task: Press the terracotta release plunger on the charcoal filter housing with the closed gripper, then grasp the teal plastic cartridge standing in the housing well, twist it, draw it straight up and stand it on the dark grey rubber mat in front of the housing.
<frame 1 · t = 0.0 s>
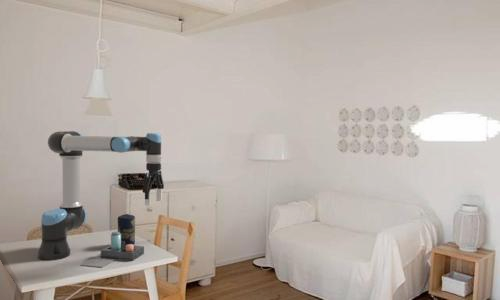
hand: (153, 203, 212), 28 cm above the table, fingers open, 13 cm apart
canister: (126, 245, 232), on the table
housing: (122, 255, 212), on the table
mat: (98, 262, 201), on the table
cartridge: (115, 255, 213), resting in housing
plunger: (129, 249, 209), point 4 cm above the table, slide at 0.0 cm
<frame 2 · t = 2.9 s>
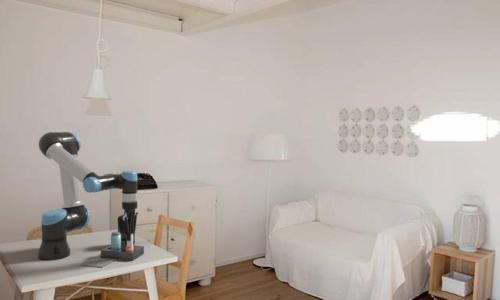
hand: (129, 246, 209), 6 cm above the table, fingers closed
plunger: (129, 250, 209), point 4 cm above the table, slide at 0.8 cm, touching gripper
everything else where it was.
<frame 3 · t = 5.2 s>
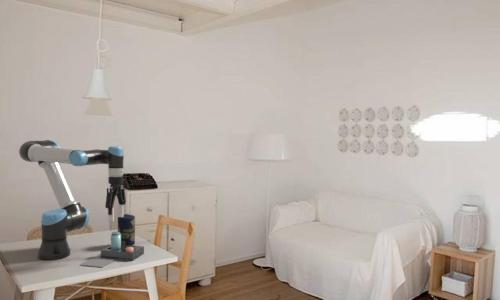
hand: (115, 218, 212), 19 cm above the table, fingers open, 9 cm apart
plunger: (129, 251, 209), point 3 cm above the table, slide at 1.4 cm
everything else where it was.
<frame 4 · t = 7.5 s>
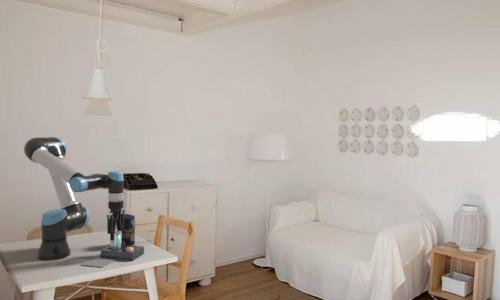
hand: (115, 244, 213), 6 cm above the table, fingers closed on cartridge, 5 cm apart
cartridge: (115, 255, 213), resting in housing, touching gripper
everything else where it was.
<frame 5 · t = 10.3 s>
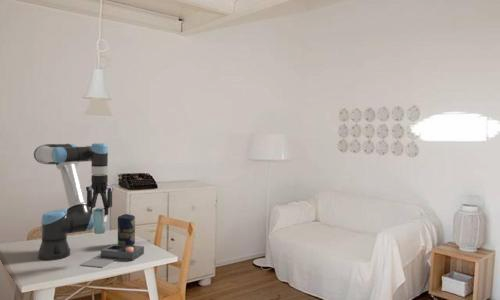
hand: (99, 221, 201), 21 cm above the table, fingers closed on cartridge, 5 cm apart
cartridge: (99, 232, 201), point 15 cm above the table, touching gripper
everything else where it was.
when the fingers open (7 cm above the table, at t = 13.3 s): cartridge stays where it is, resting on mat.
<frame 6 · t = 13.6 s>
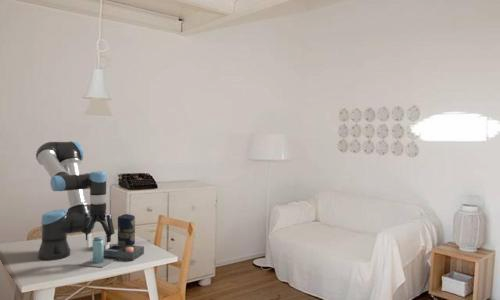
hand: (98, 247, 201), 8 cm above the table, fingers open, 9 cm apart
cartridge: (98, 261, 201), resting on mat
everything else where it was.
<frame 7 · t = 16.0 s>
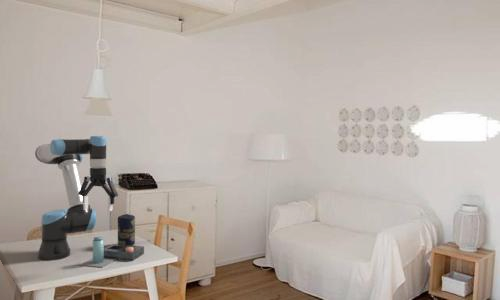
hand: (98, 210, 200), 26 cm above the table, fingers open, 13 cm apart
nothing on the table moved.
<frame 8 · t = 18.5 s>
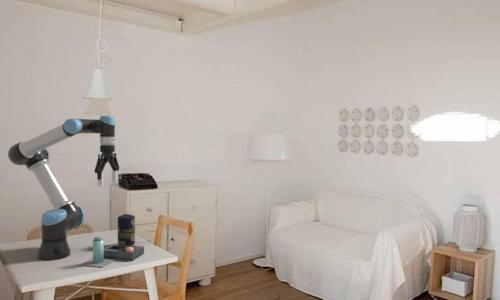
hand: (107, 184, 218), 37 cm above the table, fingers open, 13 cm apart
nothing on the table moved.
at the end: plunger slide at 1.4 cm; cartridge inside the target area on the mat (0.0 cm from its centre), point 0.4 cm above the mat's base; cartridge tilted 0° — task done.
